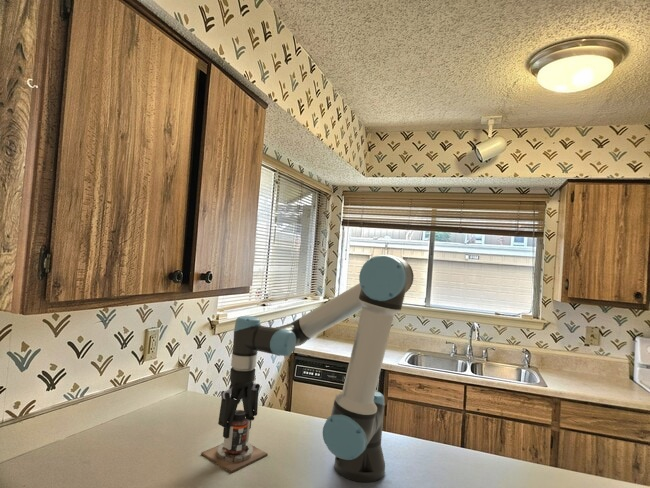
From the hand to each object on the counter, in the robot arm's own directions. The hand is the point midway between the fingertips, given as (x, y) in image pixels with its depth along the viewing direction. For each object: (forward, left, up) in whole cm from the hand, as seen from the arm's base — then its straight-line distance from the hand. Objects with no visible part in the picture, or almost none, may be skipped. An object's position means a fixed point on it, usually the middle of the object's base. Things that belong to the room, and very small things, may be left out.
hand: (236, 444), depth 116 cm
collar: (0, 0, -3) cm, 3 cm away
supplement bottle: (0, 0, -2) cm, 2 cm away
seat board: (0, 0, -3) cm, 3 cm away
